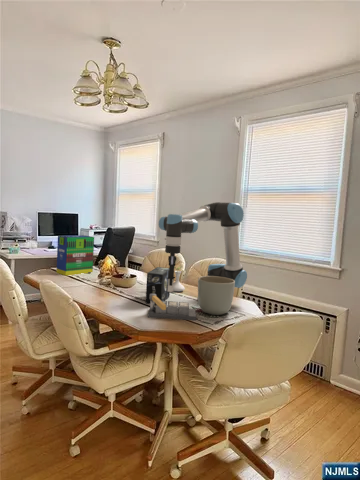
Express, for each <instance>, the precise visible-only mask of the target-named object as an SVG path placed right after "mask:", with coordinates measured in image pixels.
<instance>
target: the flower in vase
mask: <svg viewBox="0 0 360 480" xmlns="http://www.w3.org/2000/svg"><path fill="white" fill-rule="evenodd" d="M175 256H176V262H175V265H176V264H178V263H179V261H180V257H179V256H178V255H175ZM174 261H175V260H174ZM167 262H168V263H169V260H167ZM182 267H183V266H178V267H176V266H174V269H175V270H174V274H175V281H174V283H173V292H183V291H185V290H186V288H185V286H184V285H183V284H182V283H181V282H180V275H181V273H182V271H180V270H181V269H182Z"/></svg>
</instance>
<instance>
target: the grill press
mask: <svg viewBox="0 0 360 480" xmlns="http://www.w3.org/2000/svg"><path fill="white" fill-rule="evenodd" d="M162 302H163V303H164V304H165V305H166V310H162V309H161V308H160V307H159V306H158V305H157V304H156V305H155V302H154V301H153V300H151V302H150V304H149V305H150V307H149V309H148V314H147V318H152V319H153V318H154V319H155V318H156V319H167V320H169V319H170V320H182V321H183V320H184V321H185V320H186V321H197V314H196V309H195V308H190V302H189V301H174V300H173V301H172V300H171V301H170V300H169V301H168V300H165V301H162Z"/></svg>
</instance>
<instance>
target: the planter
mask: <svg viewBox="0 0 360 480" xmlns="http://www.w3.org/2000/svg"><path fill="white" fill-rule="evenodd" d="M234 287H235V281H234V280H233V279H230V278H226V277H219V276H207V275H202V276H199V277H198V278H197V301H198V302H197V304H198V307H199V308H200V310H201V311H202V312H204V313H205V314H207V315H214V316H221V315H225V314H226V313H228V312H229V311H230V310H231V308H232V304H233V300H234V294H235V288H236V287H235V288H234Z"/></svg>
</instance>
